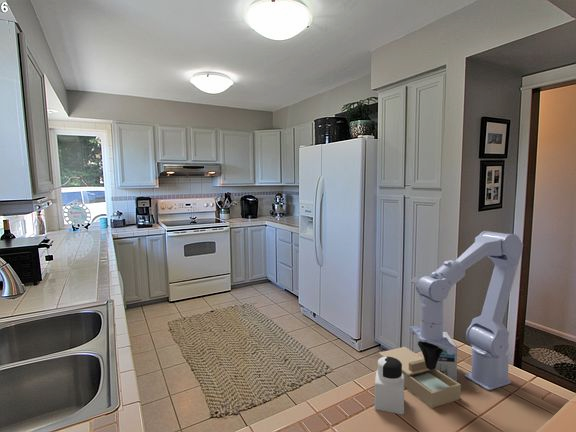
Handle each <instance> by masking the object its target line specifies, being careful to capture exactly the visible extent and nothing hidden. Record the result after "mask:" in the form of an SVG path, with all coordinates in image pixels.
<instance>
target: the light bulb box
mask: <svg viewBox="0 0 576 432" xmlns="http://www.w3.org/2000/svg"><path fill="white" fill-rule="evenodd" d="M443 337H444V338H445V339H446V340H448V341H449V342H450V343H451V344H452V345H454V346H456V354H453V355H449V354H447V352H446V351H445V350H443V352H442V353H441V355H440V357H439V359H438V362H437V365H436V368H435V369H437V370H438V371H440V372H442V373H443V374H445V375H446V376H448V377H449V378H451V379H453V380H454V381H456V382H457V381H458V380H457V379H458V378H457V377H458V376H457V375H458V346H457V344H456V343H455V342H454V341H453V339H452V338H451V336H450V334H449V333H448V332H447V331H443Z"/></svg>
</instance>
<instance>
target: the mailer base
mask: <svg viewBox="0 0 576 432" xmlns="http://www.w3.org/2000/svg"><path fill="white" fill-rule="evenodd" d="M402 374H404V388H405V389H406V390H408V391H409V390H410V391H409V392H411V393H412V394H413V395H414V394H415V395H414V396H416V398H418V397H419V398H418V399H419V400H421V401H422V402H423V403H424V404H426V405H427V406H428V407H430V409H434V408H436V407H440V406H443V405H446V404H449V403H452V402H455V401H458V400H461V399H462V398H461V397H462V396H461V393H462V391H461V390H462V385H461V383H459V382H457V381H454V380H453V379H451V378H449V377H448V376H446V375H445V374H443V373H442V372H440V371H438V370H437V369H432V370H427V371H424V372H420V373H416V374H413V375H409V376H408V375H406V374H405V373H404V372H402Z"/></svg>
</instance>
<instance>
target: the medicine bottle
mask: <svg viewBox="0 0 576 432" xmlns="http://www.w3.org/2000/svg"><path fill="white" fill-rule="evenodd" d="M374 409H375V410H376V411H383V412H387V413H392V414H397V415H402V416H404V414H405V387H404V374H402V363H401V362H400V361H399V360H398V359H396V358H393V357H382V356H381V357H380V358H379V359H378V360H377V369H376V373H375V381H374Z"/></svg>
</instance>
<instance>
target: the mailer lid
mask: <svg viewBox="0 0 576 432" xmlns="http://www.w3.org/2000/svg"><path fill="white" fill-rule="evenodd" d="M378 355H379V356H381V357H393V358H396V359H398V360H399V361H400V362H401V363H402V372H404V373H405V374H406V375H408V376H409V375H413V374H416V373H420V372H424V371H427V370H429V369H428V368H427V367H426V364H425V360H424V357H422V356H420V355H419V354H417V353H416V352H414V351H412V350H411V349H409V348H408V347H406V346H402V347H397V348H394V349H389V350H385V351H379V352H378Z"/></svg>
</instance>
